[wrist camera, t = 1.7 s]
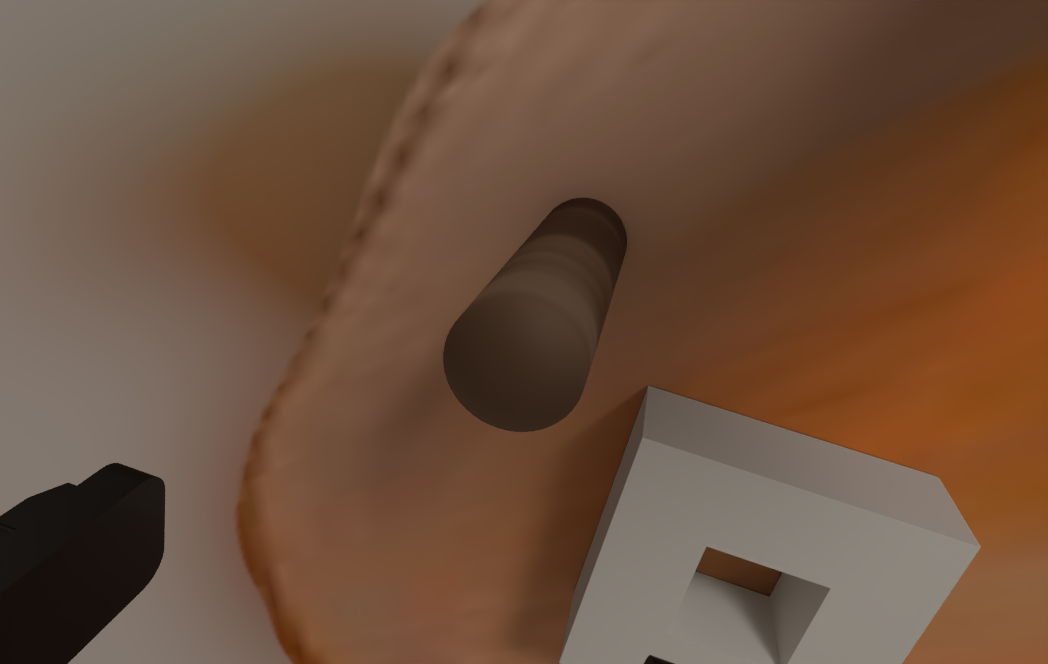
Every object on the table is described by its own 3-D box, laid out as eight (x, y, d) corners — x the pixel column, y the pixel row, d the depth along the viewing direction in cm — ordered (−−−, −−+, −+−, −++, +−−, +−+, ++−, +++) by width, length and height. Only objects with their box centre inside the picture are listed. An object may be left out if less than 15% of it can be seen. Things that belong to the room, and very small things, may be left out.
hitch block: (648, 385, 33) (642, 437, 29) (938, 477, 32) (981, 547, 27) (573, 592, 39) (559, 663, 34) (816, 678, 37) (834, 763, 33)
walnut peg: (552, 187, 31) (458, 279, 18) (637, 211, 30) (604, 324, 17) (531, 268, 32) (432, 406, 20) (612, 293, 32) (564, 450, 19)
